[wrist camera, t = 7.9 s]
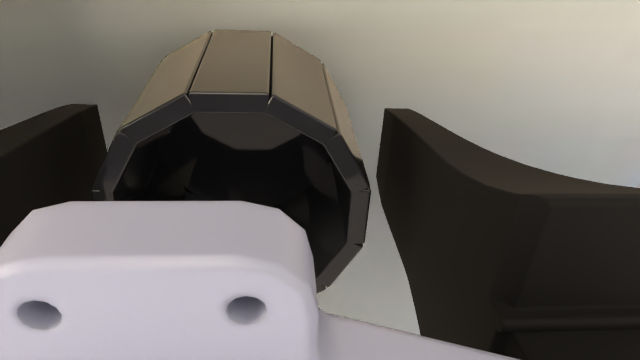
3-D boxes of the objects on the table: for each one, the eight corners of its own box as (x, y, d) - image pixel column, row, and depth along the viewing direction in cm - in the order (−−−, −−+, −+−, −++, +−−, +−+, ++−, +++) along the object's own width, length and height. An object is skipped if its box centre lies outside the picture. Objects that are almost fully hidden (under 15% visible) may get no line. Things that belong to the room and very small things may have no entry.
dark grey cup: (348, 24, 13) (383, 94, 9) (335, 196, 15) (356, 311, 11) (136, 18, 12) (65, 90, 8) (162, 196, 15) (119, 317, 11)
